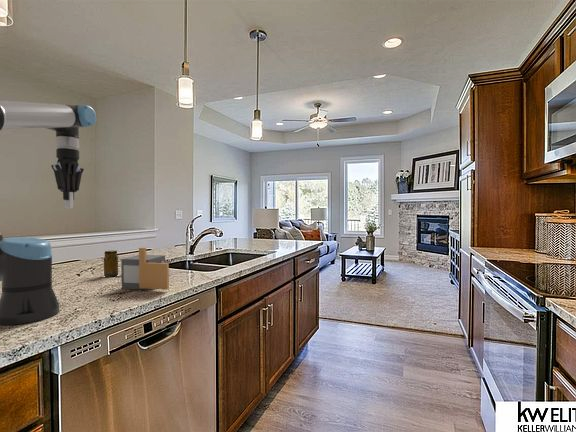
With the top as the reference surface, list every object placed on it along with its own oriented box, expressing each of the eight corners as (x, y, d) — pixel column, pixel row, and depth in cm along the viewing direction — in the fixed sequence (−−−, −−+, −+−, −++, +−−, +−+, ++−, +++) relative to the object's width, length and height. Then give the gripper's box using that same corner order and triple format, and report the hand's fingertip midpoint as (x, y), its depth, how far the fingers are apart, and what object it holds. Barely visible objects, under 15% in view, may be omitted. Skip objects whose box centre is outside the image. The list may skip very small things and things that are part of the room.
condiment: (106, 274, 155) (105, 250, 155) (125, 274, 157) (124, 249, 156) (100, 277, 148) (100, 252, 147) (120, 277, 149) (119, 251, 149)
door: (167, 289, 122) (166, 248, 122) (139, 288, 125) (138, 248, 124) (168, 288, 124) (168, 248, 123) (141, 287, 126) (140, 247, 125)
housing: (153, 290, 125) (152, 257, 125) (121, 288, 128) (121, 257, 127) (169, 283, 137) (169, 253, 137) (140, 281, 140) (140, 252, 139)
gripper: (73, 152, 133) (74, 208, 134) (44, 146, 120) (45, 208, 121) (89, 151, 132) (90, 208, 132) (61, 145, 119) (62, 208, 120)
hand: (69, 208), depth 127 cm, fingers closed
